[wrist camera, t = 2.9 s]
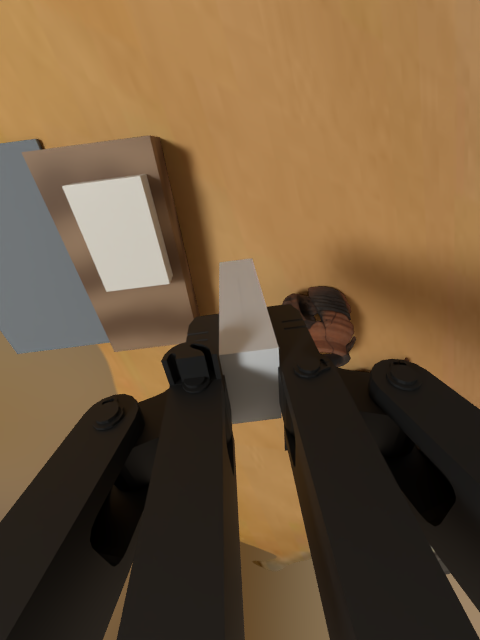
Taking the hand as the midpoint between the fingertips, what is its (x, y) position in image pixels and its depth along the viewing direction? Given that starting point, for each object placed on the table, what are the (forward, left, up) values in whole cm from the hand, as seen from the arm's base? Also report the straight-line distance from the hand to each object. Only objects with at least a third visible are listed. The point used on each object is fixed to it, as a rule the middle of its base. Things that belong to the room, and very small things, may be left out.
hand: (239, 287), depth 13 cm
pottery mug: (+14, +8, -18) cm, 24 cm away
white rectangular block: (0, -9, -14) cm, 17 cm away
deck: (+3, -10, -18) cm, 21 cm away
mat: (+3, -23, -18) cm, 29 cm away
